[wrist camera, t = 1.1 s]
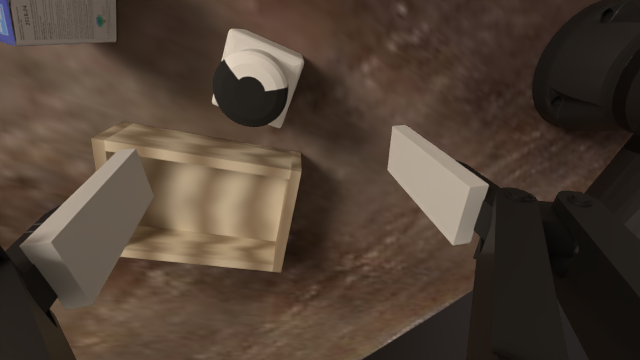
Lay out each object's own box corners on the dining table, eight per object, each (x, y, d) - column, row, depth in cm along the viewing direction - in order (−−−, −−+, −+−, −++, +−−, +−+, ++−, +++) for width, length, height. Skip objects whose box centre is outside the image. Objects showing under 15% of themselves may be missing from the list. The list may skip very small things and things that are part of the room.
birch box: (300, 152, 38) (301, 171, 33) (282, 244, 45) (280, 272, 40) (122, 121, 34) (91, 138, 29) (133, 226, 41) (109, 255, 36)
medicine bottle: (283, 112, 35) (277, 147, 25) (226, 90, 34) (194, 118, 23) (303, 55, 32) (307, 66, 22) (242, 28, 31) (214, 26, 20)
